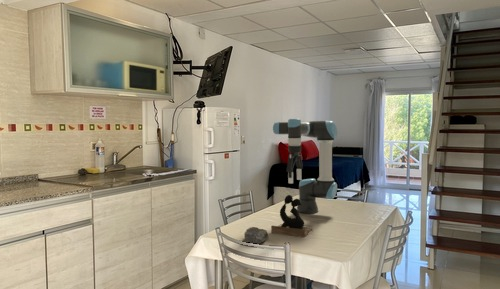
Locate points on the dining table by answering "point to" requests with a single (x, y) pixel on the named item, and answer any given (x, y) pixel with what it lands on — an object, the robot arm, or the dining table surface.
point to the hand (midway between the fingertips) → (295, 181)
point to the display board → (291, 231)
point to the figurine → (288, 221)
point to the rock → (255, 235)
